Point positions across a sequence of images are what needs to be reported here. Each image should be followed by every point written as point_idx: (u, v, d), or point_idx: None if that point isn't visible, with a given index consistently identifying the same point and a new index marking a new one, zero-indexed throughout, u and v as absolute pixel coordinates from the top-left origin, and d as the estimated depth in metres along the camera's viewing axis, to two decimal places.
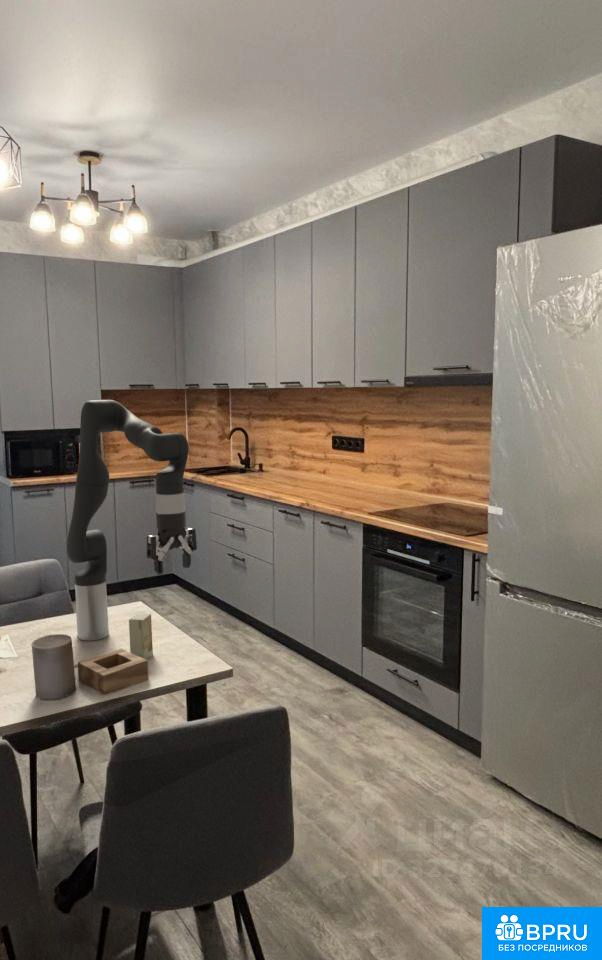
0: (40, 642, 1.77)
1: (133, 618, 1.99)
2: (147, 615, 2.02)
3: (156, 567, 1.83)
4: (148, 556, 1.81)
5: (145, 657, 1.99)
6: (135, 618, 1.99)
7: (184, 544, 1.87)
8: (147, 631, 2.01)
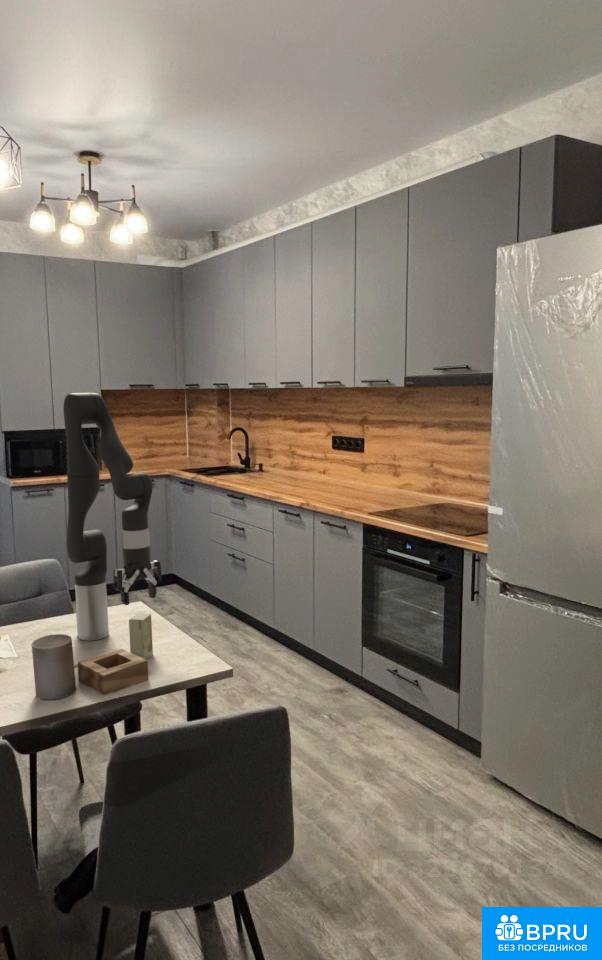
0: (40, 642, 1.77)
1: (133, 618, 1.99)
2: (147, 615, 2.02)
3: (123, 598, 1.96)
4: (115, 588, 1.95)
5: (145, 657, 1.99)
6: (135, 618, 1.99)
7: (149, 576, 2.00)
8: (147, 631, 2.01)
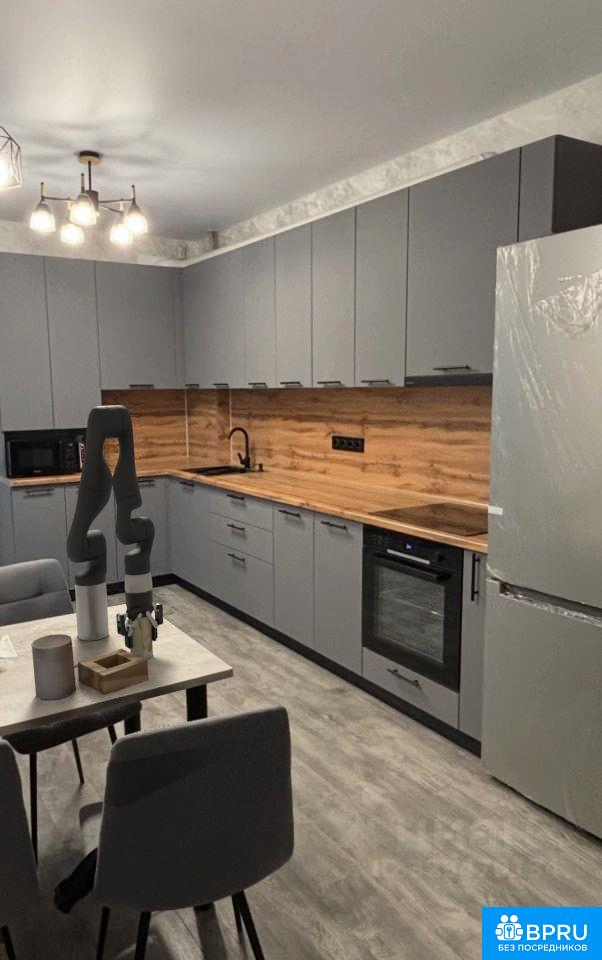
0: (40, 642, 1.77)
1: None
2: None
3: (126, 642, 1.98)
4: (119, 632, 1.96)
5: (145, 657, 1.99)
6: None
7: (151, 619, 2.01)
8: (147, 631, 2.01)
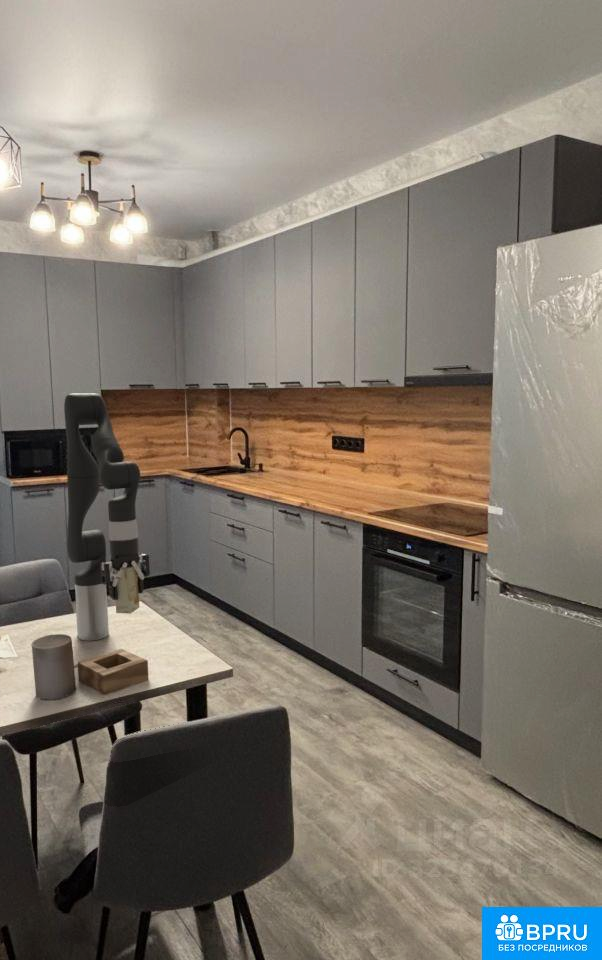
0: (40, 642, 1.77)
1: None
2: None
3: (111, 593, 1.88)
4: (103, 582, 1.87)
5: (131, 609, 1.90)
6: None
7: (137, 569, 1.92)
8: (133, 582, 1.91)
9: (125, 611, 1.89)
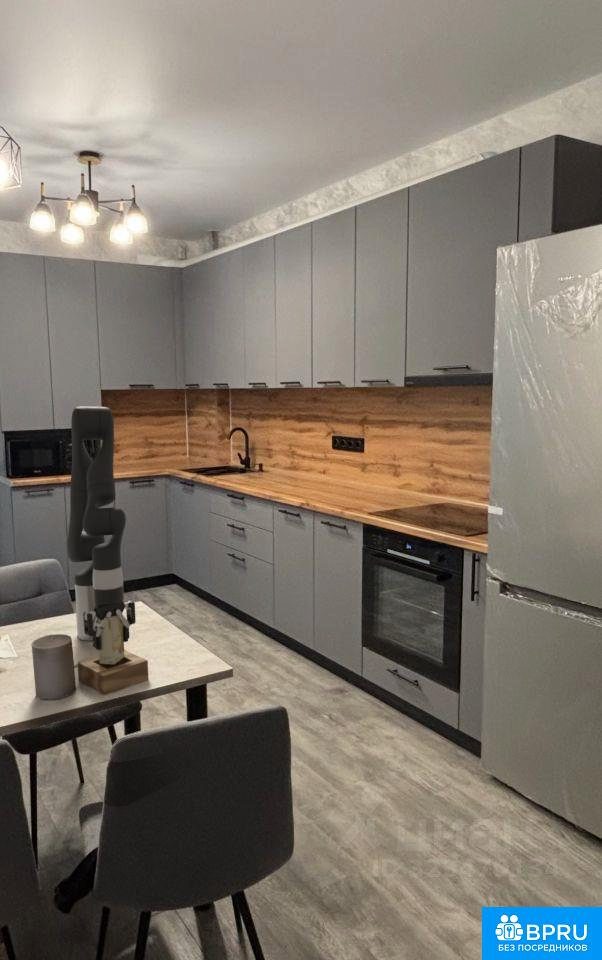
0: (40, 642, 1.77)
1: None
2: None
3: (94, 643, 1.82)
4: (86, 633, 1.80)
5: (115, 659, 1.83)
6: None
7: (122, 618, 1.85)
8: (118, 631, 1.85)
9: (109, 662, 1.83)
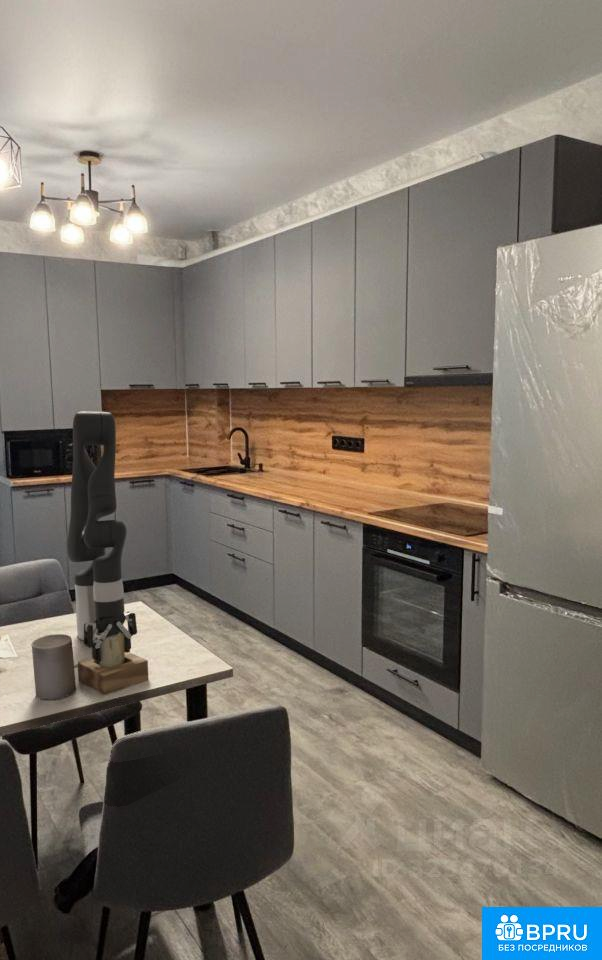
0: (40, 642, 1.77)
1: None
2: (119, 633, 1.86)
3: (94, 655, 1.82)
4: (85, 644, 1.81)
5: None
6: (106, 637, 1.83)
7: (123, 630, 1.86)
8: (119, 651, 1.85)
9: None
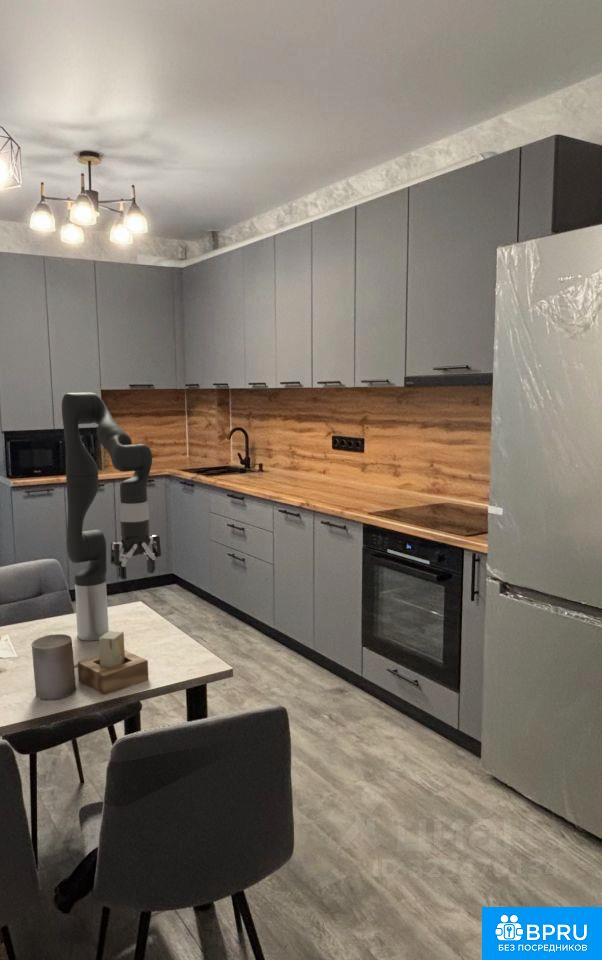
0: (40, 642, 1.77)
1: (103, 637, 1.84)
2: (119, 633, 1.86)
3: (120, 573, 1.90)
4: (112, 562, 1.89)
5: None
6: (106, 637, 1.83)
7: (148, 551, 1.94)
8: (119, 651, 1.85)
9: None
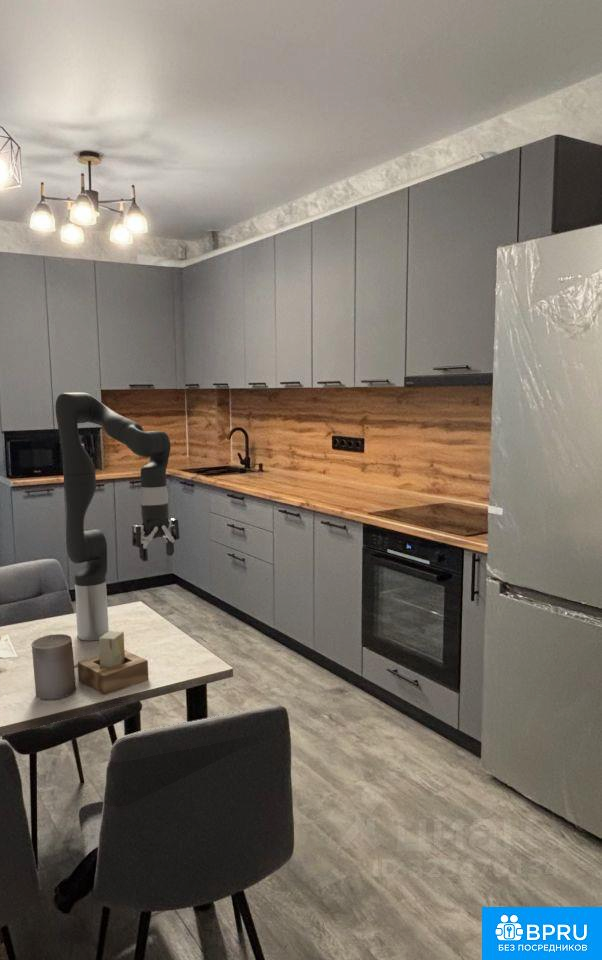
0: (40, 642, 1.77)
1: (103, 637, 1.84)
2: (119, 633, 1.86)
3: (141, 554, 1.98)
4: (134, 544, 1.97)
5: None
6: (106, 637, 1.83)
7: (167, 533, 2.02)
8: (119, 651, 1.85)
9: None
